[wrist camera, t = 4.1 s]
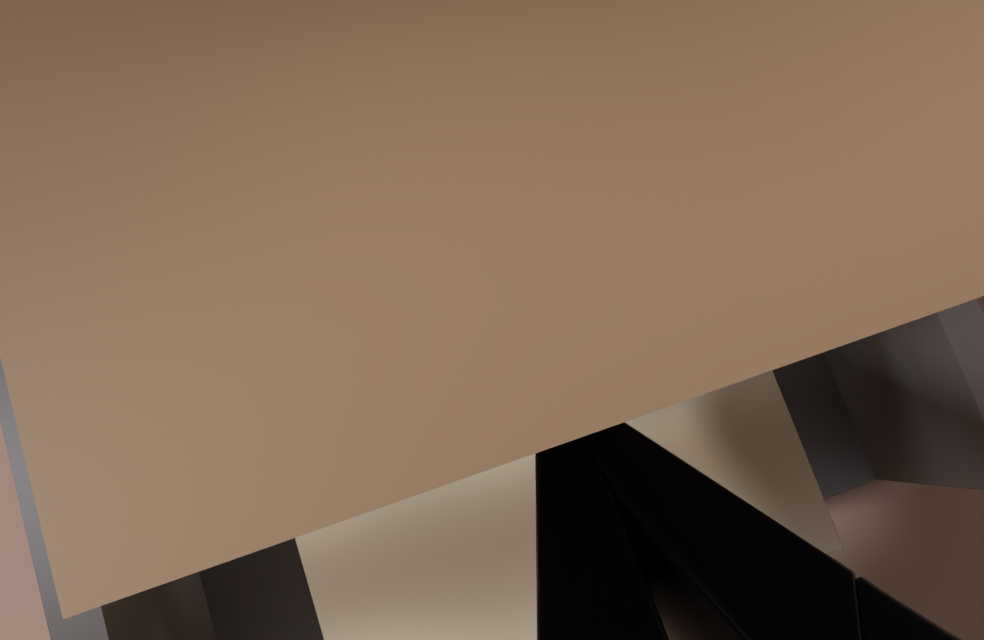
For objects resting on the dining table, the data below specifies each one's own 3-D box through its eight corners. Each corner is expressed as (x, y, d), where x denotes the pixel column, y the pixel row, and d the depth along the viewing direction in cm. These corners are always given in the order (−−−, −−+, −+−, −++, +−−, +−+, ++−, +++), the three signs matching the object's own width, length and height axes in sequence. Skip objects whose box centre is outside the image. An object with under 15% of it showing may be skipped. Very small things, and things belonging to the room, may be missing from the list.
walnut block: (719, 357, 12) (1207, 216, 4) (333, 490, 11) (62, 620, 4) (565, -39, 13) (730, -733, 5) (204, 62, 13) (-221, -569, 5)
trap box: (891, 465, 16) (1263, 490, 9) (208, 720, 14) (-53, 1018, 7) (620, -183, 19) (728, -592, 11) (15, -28, 17) (-326, -386, 10)
